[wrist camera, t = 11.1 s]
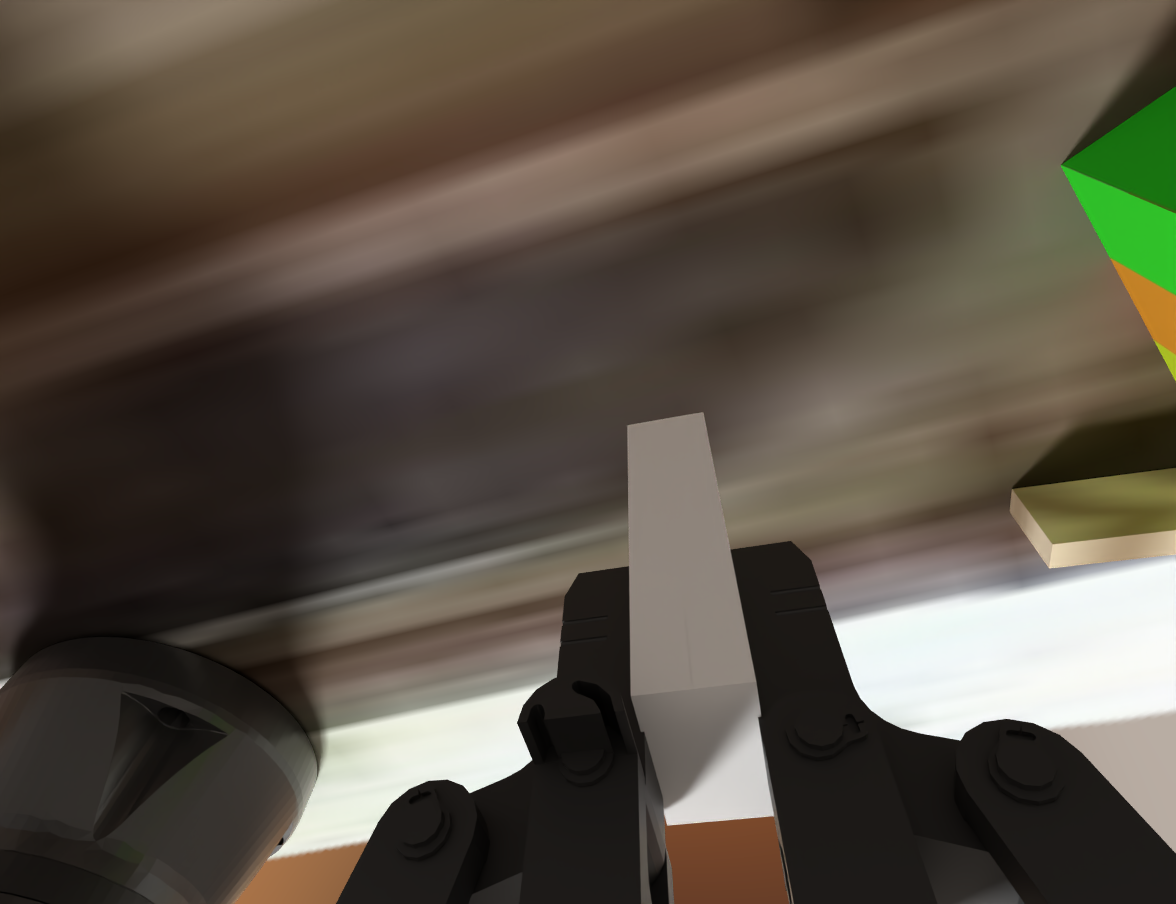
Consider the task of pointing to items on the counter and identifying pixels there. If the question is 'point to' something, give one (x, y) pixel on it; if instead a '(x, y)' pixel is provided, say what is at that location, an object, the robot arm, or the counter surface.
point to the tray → (1100, 518)
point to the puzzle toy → (1137, 210)
